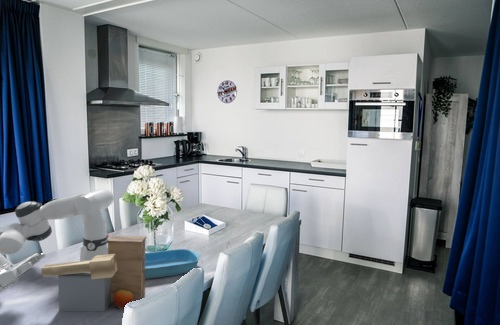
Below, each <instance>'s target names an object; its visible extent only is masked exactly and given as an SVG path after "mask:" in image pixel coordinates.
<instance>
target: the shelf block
mask: <svg viewBox="0 0 500 325" xmlns="http://www.w3.org/2000/svg"><path fill="white" fill-rule="evenodd" d="M146 240H147V236H146V235H115V234H114V235H112V236H111V237H110V238H108V241H107V243H108V254H116V262H117V271H116V273H115V274H114V275H113V277H111V300H113V297H114V294H115V292H116V291H119V290H126V291H130V292H131V293H132V294H133V296H134V297H133V300H132V301H134V300H135V301H138V300H137V299H141V298H142V299H143V297H144V295H145V293H146V279H145V253H146ZM142 299H141V300H142Z"/></svg>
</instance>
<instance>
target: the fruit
mask: <svg viewBox="0 0 500 325" xmlns="http://www.w3.org/2000/svg"><path fill="white" fill-rule="evenodd" d="M133 297H134V296H133V294H132V293H131V292H130V291H126V290H119V291H116V292H115V294H114V297H113V299H112V301H113V305H114V308H119V309H120V311H122V309H124V307H125V305H126V304H127V303H129V302H131V303H132V302H133V301H134V300H133ZM125 308H126V307H125Z"/></svg>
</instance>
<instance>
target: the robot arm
mask: <svg viewBox="0 0 500 325" xmlns="http://www.w3.org/2000/svg"><path fill="white" fill-rule="evenodd" d="M114 200H115V196H114V194H113V192H112V191H111V190H109V189H105V188H104V189H103V188H102V189H101V188H99V189H96V190H92V191H87V192H82V193H78V194H74V195H70V196H65V197H60V198H56V199H54V200H53V199H52V200H50V201H48V202H47V203H44V205H43V204H42V203H41V202H37V201H34V200H32V201H30V200H29V201H26V202H23V203H21V204H19V205H18V206H17V207H16V208H15V210H14V212H15V216H16V218H17V219H18V221H19V223H18V222H17V223H10V224H9V225H7V226H6V227H5V229H3V230H2V231H1V230H0V291H2V290H5V289H8V288H9V287H12V286H13V285H15V284H17V283H18V282H19V281H20V277H21V275H22V274H24V273H25V272H27V271H28V270H30V269H31V268H32V267H33V266H34V265H36V264H37V263H39V262H41V260H42V259H43V258H45V257H46V254H45V252H42V253H40V254H39V252H36V253H33V254H32V255H30V256H28V257H26V258H24V259H22V260H21V261H19V262H18V263H16V264H15V263H12V262H11V261H10V260H9V259H8V258H6V257H5V256H7V255H8V256H11V255H15V254H17V253H19V252H20V251H22V249H23V247H24V246H25V243H26V241H32V242H41V241H43V240H45V239H47V238H49V237H50V236H51V234H52V232H53V230H52V227H51V225H50V223H49V220H52V221H53V220H63V219H68V218H75V217H78V216H80V217H81V219H82V223H83V238H82V239H83V240H82V246H81V247H80V253H79V254H80V255H79V259H78V260H77V261H76V262H78V261H88V260H92V259H93V258H94V257H95V256H98V255H108V243H107V241H108V240H109V236H110V235H109V233H107V220H105V219H104V217H103V216H102V211H104V210H105V209H108V208H109V207H110V206H111V205H112V204H113V202H114ZM4 255H5V256H4Z"/></svg>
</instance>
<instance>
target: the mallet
mask: <svg viewBox="0 0 500 325" xmlns="http://www.w3.org/2000/svg"><path fill="white" fill-rule="evenodd" d="M77 261H78V260H77ZM77 261H70V262H62V263H60V262H59V263H51V264H50V263H49V264H45V265H43V266H42V267H41V274H42V278H45V277H46V278H47V277H55V276H57V277H58V275H67V274H76V273H86V272H90V273H91V279H100V278H110V277H113V275H114V274H115V273H116V271H117V262H116V254H108V255H98V256H95V257H94V258H93V259H92V260H88V261H78V262H77Z"/></svg>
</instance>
